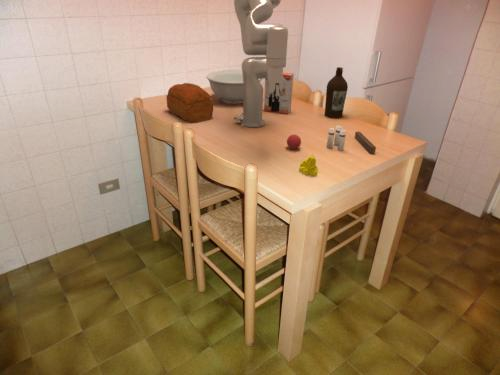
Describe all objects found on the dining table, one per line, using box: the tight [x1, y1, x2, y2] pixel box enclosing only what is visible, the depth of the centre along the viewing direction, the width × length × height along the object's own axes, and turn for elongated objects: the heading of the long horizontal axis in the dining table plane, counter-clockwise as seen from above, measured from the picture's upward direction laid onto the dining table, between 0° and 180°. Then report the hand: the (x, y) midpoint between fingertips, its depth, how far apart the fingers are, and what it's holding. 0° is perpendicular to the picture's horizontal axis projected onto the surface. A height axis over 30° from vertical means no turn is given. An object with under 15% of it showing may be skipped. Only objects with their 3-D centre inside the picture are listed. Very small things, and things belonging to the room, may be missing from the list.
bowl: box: [206, 69, 263, 104], centre depth 211 cm, size 32×32×15 cm
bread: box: [166, 82, 214, 123], centre depth 186 cm, size 16×27×16 cm, turn 37°
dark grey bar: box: [354, 131, 377, 155], centre depth 156 cm, size 2×18×3 cm, turn 6°
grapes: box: [298, 154, 319, 177], centre depth 132 cm, size 6×8×8 cm
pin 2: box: [337, 129, 347, 151], centre depth 151 cm, size 2×2×8 cm
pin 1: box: [333, 125, 343, 147], centre depth 155 cm, size 2×2×8 cm
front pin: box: [326, 127, 336, 149], centre depth 153 cm, size 2×2×8 cm
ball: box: [286, 134, 302, 150], centre depth 151 cm, size 6×6×6 cm
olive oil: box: [324, 66, 349, 119], centre depth 186 cm, size 11×11×25 cm
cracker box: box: [263, 71, 295, 115], centre depth 192 cm, size 14×6×21 cm, turn 68°
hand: (273, 108), depth 143 cm, fingers open, 5 cm apart
